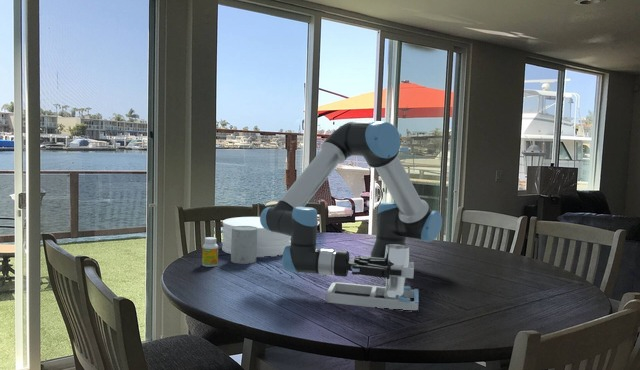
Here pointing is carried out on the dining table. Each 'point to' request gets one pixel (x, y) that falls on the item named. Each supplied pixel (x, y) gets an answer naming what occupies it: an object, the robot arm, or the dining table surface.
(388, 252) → the beer glass
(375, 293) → the frame
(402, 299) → the light blue bracket
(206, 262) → the supplement bottle
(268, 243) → the plate stack
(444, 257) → the dining table surface
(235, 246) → the gray cylinder
